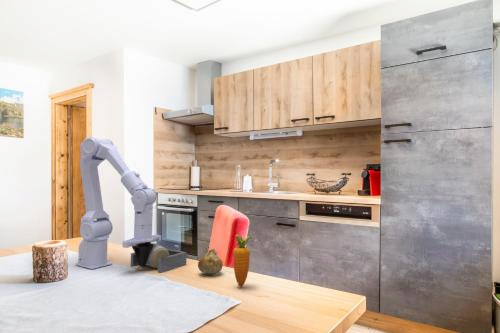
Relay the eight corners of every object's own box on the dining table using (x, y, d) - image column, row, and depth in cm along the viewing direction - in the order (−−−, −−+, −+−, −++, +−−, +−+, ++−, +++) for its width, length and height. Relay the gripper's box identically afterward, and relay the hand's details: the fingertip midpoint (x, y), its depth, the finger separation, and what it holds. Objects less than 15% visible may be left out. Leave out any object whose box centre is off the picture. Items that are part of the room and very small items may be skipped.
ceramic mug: (151, 271, 110) (152, 247, 110) (139, 266, 115) (140, 243, 116) (178, 265, 117) (179, 243, 118) (166, 261, 123) (166, 240, 123)
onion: (194, 272, 109) (194, 248, 109) (217, 270, 113) (217, 246, 113) (202, 279, 102) (202, 253, 102) (226, 276, 106) (226, 250, 106)
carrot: (251, 285, 97) (252, 233, 97) (246, 291, 92) (247, 236, 93) (235, 283, 99) (236, 232, 99) (229, 289, 94) (230, 235, 94)
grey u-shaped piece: (130, 266, 115) (130, 253, 116) (157, 258, 126) (157, 247, 126) (160, 272, 108) (160, 259, 108) (186, 264, 119) (186, 252, 119)
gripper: (133, 228, 103) (132, 273, 102) (167, 223, 115) (166, 263, 115) (118, 226, 107) (117, 269, 106) (153, 221, 119) (152, 260, 119)
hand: (142, 266), depth 111 cm, fingers closed
